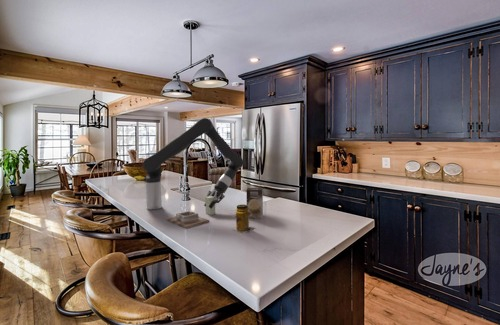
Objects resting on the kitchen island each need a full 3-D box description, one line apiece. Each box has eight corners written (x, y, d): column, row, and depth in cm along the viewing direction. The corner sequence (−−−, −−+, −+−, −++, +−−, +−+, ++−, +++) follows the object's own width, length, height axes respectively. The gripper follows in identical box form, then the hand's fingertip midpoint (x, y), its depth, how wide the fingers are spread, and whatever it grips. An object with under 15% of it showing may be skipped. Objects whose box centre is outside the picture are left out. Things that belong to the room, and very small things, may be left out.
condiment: (232, 230, 127) (232, 205, 126) (244, 225, 133) (243, 202, 132) (243, 233, 122) (243, 208, 121) (255, 228, 129) (254, 204, 128)
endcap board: (166, 220, 144) (166, 212, 144) (188, 214, 154) (188, 207, 153) (186, 228, 130) (185, 220, 130) (208, 221, 140) (208, 214, 139)
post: (205, 213, 155) (205, 197, 154) (211, 212, 158) (210, 195, 157) (209, 214, 153) (209, 198, 152) (215, 213, 155) (214, 196, 154)
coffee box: (246, 218, 145) (245, 189, 143) (247, 215, 151) (246, 187, 150) (262, 218, 144) (262, 190, 142) (263, 215, 150) (262, 187, 149)
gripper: (212, 179, 164) (196, 201, 156) (227, 181, 154) (211, 205, 146) (219, 186, 168) (204, 208, 161) (234, 188, 158) (218, 212, 151)
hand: (207, 206), depth 154 cm, fingers closed on post, 4 cm apart
